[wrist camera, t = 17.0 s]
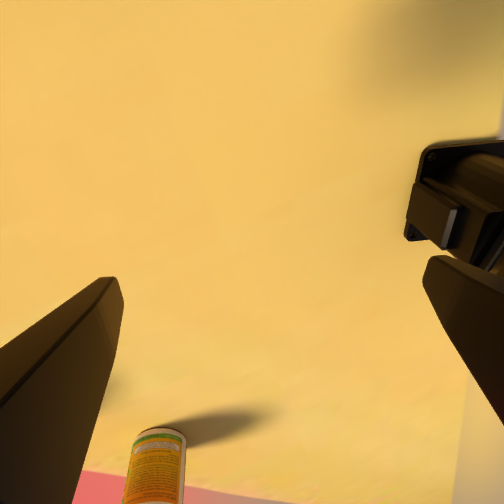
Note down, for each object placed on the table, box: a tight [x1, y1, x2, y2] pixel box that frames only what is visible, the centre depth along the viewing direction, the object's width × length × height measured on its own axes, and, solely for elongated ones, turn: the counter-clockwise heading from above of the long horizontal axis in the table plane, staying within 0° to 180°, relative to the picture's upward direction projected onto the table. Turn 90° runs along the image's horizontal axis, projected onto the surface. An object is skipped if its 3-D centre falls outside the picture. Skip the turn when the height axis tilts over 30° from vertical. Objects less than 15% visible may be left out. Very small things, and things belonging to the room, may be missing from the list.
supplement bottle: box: [122, 428, 186, 504], centre depth 30 cm, size 5×5×10 cm
